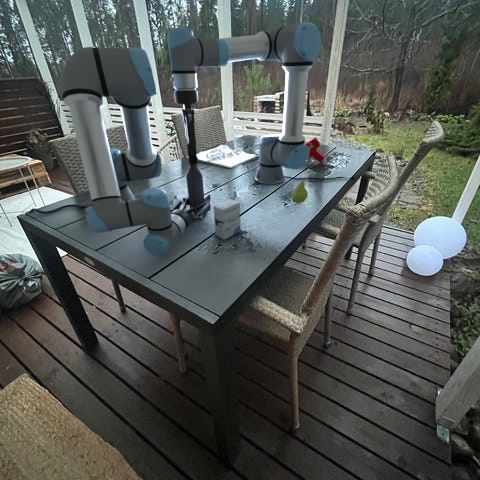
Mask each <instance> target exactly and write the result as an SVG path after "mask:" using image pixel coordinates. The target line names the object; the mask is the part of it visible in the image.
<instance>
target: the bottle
mask: <svg viewBox="0 0 480 480" xmlns="http://www.w3.org/2000/svg"><path fill="white" fill-rule="evenodd" d="M188 164H189V166H188V168H187V171H186V173H185V179H186V187H187V195H188V197H189V209H190V208H192V207H193V208H194V207H196V206H198V205H199V204H201V203H203V200H204V199H205V190H204V188H205V187H204V178H203V177H204V176H203V173H202V171H201V169H200V168H199V166H198V163H197V164H193V165H190V163H188ZM206 215H207V214H206ZM206 215H205V216H204V217H203V219H204V218H206ZM194 220H199V219H198V218H195V219H194Z"/></svg>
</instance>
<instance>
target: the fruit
mask: <svg viewBox="0 0 480 480" xmlns="http://www.w3.org/2000/svg"><path fill="white" fill-rule="evenodd" d="M309 177H311V175H310V174H309V175H308V176H306V177H305V178H306V179H301V181H300V182H298V184H297V185H296V186H295V187H294V188H293V190H292V191H291V198H292V200H293V201H294V202H295V203H297V204H301V203H304V202H305V201H306V200H307V198H308V196H309V195H308V190H307V189H306V184H305V183H306V180H308V179H307V178H309Z"/></svg>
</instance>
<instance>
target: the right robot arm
mask: <svg viewBox="0 0 480 480" xmlns="http://www.w3.org/2000/svg"><path fill="white" fill-rule="evenodd" d="M321 36H322V35H321V33H320V30H319V28H318V27H317V26H316V25H315V24H314V23H312V22H304V21H302V22H298V23H293V24H288V25H281V26H277V27H275V28H271V29H268V30H262V31H258V32H257V33H256V34H254V35H243V36H232V37H222V38H206V37H205V38H204V37H203V38H201V37H199V38H198V37H195V36H194V32H193V29H192V28H187V27H172V28H169V29H168V30H167V49H168V53H169V54H168V55H169V62H170V70H171V77H170V78H169V79H170V81H171V82H172V86H173V88H174V89H175V90H174V91H173V96H174V102H175V104H177V105H182V108H181V109H180V111H181V115H182V121H183V124H184V132H185V141H186V144H185V147H186V150H187V156H189V162H190V165H193V164H197V165H198V162H197V154H198V153H197V141H196V140H197V139H196V129H195V127H196V126H195V124H196V123H195V109H194V108H193V107H192V105H194V104H195V105H196V104H198V103H199V92H198V90H197V88H198V79H197V78H198V77H197V68H223V67H226V66H227V65H228V63H233V62H241V61H247V60H255V59H256V60H258V61H261V62H262V61H263V62H264V61H275V62H282V69H283V70H284V71H285V82H284V83H285V85H284V104H283V119H282V120H283V121H282V133H281V134H280V133H278V134H277V133H276V134H275V133H274V134H266V135H262V136H260V139H259V153H258V157H259V158H258V167H257V170H256V172H255V173H256V174H255V178H254V181H255V183H258V184H259V185H262V186H263V185H264V186H279V185H281V184H283V183H284V181H285V179H292V180H298V181H299V180H305V179H306V178H307V177H292V176H286V175H284V172H283V171H284V170H283V167H284V168H286V169H290V170H293V171H294V170H295V171H296V170H299V169H301V168H302V167H303V166H304V165H305V164H306V163H307V161H308V160H309V159H308V156H309V148H308V147H307V146H306V145H304V144H305V143H306V137H305V136H304V135H303V128H304V117H305V108H306V107H305V106H306V96H307V85H308V75H309V71H310V70H311V68H312V67H313V64H314V63H313V62H314V61H315V60H316V59H317V58H318V56H319V54H320V53H321V49H322V37H321ZM190 165H189V166H190ZM344 178H346V177H342V176H336V177H328V178H325V177H324V178H323V177H311V176H310V177H309V178H307V179H306V180H319V181H331V180H336V179H344ZM350 178H351V179H355V177H354V176H352V177H350Z"/></svg>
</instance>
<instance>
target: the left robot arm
mask: <svg viewBox="0 0 480 480" xmlns="http://www.w3.org/2000/svg"><path fill="white" fill-rule="evenodd" d="M60 94H61V97H62V102H63V105H64V106H65V107H66V108H68V109H69V113H70V117H71V121H72V125H73V129H74V133H75V138H76V142H77V146H78V150H79V154H80V158H81V162H82V166H83V167H82V168H83V170H84V173H85V174H84V175H85V178H86V179H85V180H86V183H87V187H88V190H89V195H90V199H91V202H92V203H91V204H86V205H81V204H66V205H62V206H59V207H57V208H54V209H51V210H46V211H43V210H40V209H37V208H31V209H30V210H29V213H33V212H34V210H35V212H37V213H39V214H44V215H46V214H47V215H48V214H52V213H56V212H58V211H60V210H63V209H66V208H70V207H71V208H72V207H75V208H79V209H80V208H81V209H85V219H86V223H87V225H88V227H89V229H90V231H91V232H92V233H95V234H98V233H104V232H105V233H106V232H112V231H116V230H122V229H126V228H132V227H139V226H144V225H146V229H147V233H148V234H146V236H144V238H143V242H142V244H143V248H144V249H145V250H146V251H147V252H148V253H149V254H150V255H153V256H159V257H160V256H162V255H164V254H165V253H166V252H168V251H169V250H170V249H171V247H172V246H173V245H174V244H175V243H176V242H177V240H178V239H179V238H180V237H181V236H182V234H184V232H185V231H186V230H187V229H188V228H189V226H190V225H191V223H192V221H194V220H196V219H195V218H198V219H197V220H199V221H203V219H204V218H205V217H206V216H205V215H207V214H208V213H209V212H210V211H211V210H212V206H211V201H212V200H211V194H207V196H205V197H204V200H203V203H201V204H199V205H198V206H196V207H194V208H193V207H192V208H190V205H189V197H182V199H178V200H176V202H175V203H174V204H173V205H172V206H171V205H170V202H169V201H170V200H169V195H168V192H167V191H166V190H165V189H164V188H160V187H149V188H147V189H144V190H142V191H141V192H140V194H139V198H136V197H135V195H134V194H133V193H132V191H131V189H130V187H129V183H128V182H133V181H141V180H151V179H154V178H155V179H156V178H159V177H160V176H161V175H162V170H163V167H162V158H161V153H160V151H159V150H158V149H156V148H155V146H154V145H153V142H152V133H151V123H150V114H149V105H150V104H151V103H152V100H153V97H154V96H156V95H157V94H158V90H157V84H156V81H155V76H154V72H153V68H152V64H151V61H150V57H149V55H148V52H147V51H146V50H145V49H143V48H137V47H131V46H129V47H128V48H127V47H93V46H86V47H85V46H84V47H82V48H80V49H77V50H76V51H74V52H73V53H72V54H71V55H70V56H69V58H68V59H67V61H65V64H64V67H63V69H62V73H61V78H60ZM103 98H112V100H113V101H114V103H115V104H116V105H117V106H118V107H119V109H120V114H121V119H122V124H123V127H124V128H123V129H124V131H125V137H126V142H127V145H128V146H127V148H126V150H125V151H124V152H121V151H120V149H118V148H111V147H110V142H109V139H108V133H107V130H106V126H105V122H104V117H103V113H102V108H103V106H104V99H103ZM188 206H189V208H187V207H188ZM31 211H32V212H31ZM204 216H205V217H204ZM203 217H204V218H203Z"/></svg>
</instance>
